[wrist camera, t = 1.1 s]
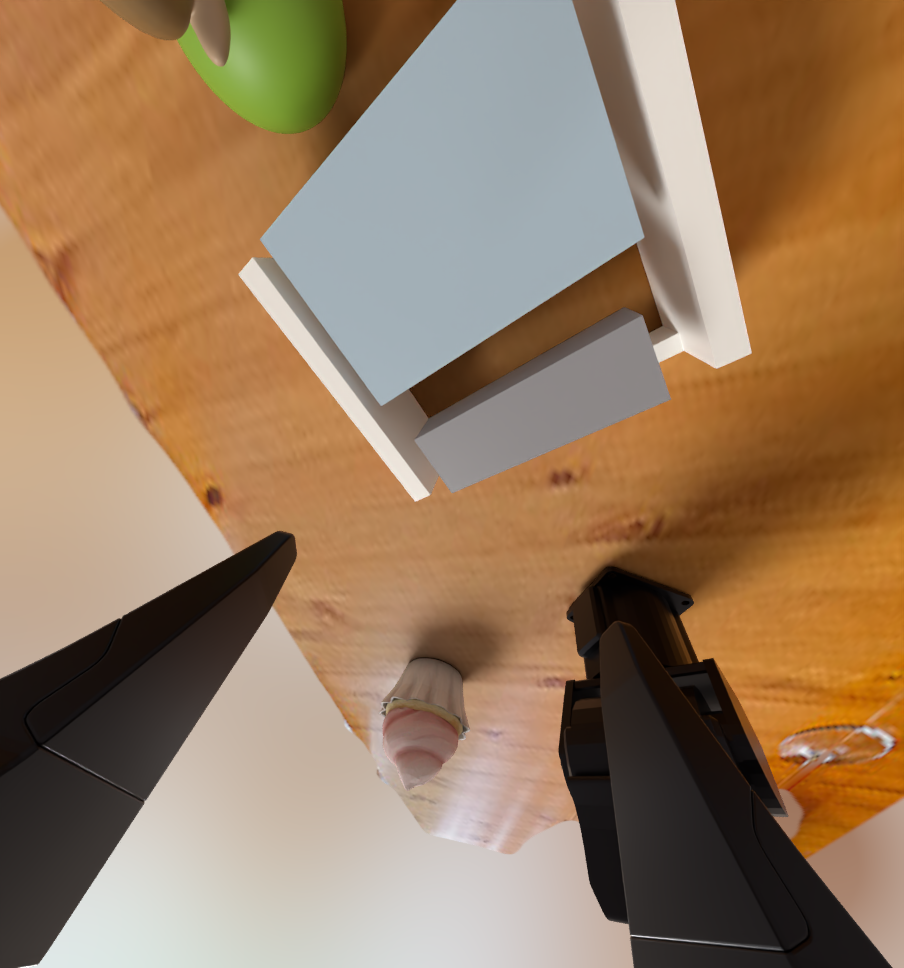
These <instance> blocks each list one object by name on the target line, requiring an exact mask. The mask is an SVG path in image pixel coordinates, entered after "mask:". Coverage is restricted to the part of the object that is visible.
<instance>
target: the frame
mask: <svg viewBox="0 0 904 968" xmlns="http://www.w3.org/2000/svg"><path fill="white" fill-rule="evenodd" d="M572 2H573V5H574V9H575V12H576V15H577V18H578V22H579V25H580V28H581V31H582V35H583V38H584V41H585V44H586V48H587V51H588V54H589V57H590V61H591V64H592V67H593V71H594V74H595V77H596V80H597V84H598V87H599V90H600V93H601V97H602V100H603V103H604V106H605V110H606V113H607V116H608V119H609V123H610V126H611V129H612V133H613V136H614V139H615V142H616V146H617V149H618V152H619V155H620V159H621V162H622V165H623V168H624V172H625V175H626V178H627V181H628V185H629V188H630V191H631V195H632V198H633V201H634V204H635V208H636V211H637V214H638V217H639V221H640V224H641V227H642V230H643V234H644V237H645V238H643V239H641V240H640V241H638V242H637V246H638V249H639V253H640V256H641V259H642V262H643V265H644V268H645V271H646V275H647V278H648V281H649V284H650V287H651V290H652V294H653V297H654V300H655V303H656V306H657V309H658V312H659V316H660V319H661V322H662V325H663V326H661V327H660V328H658V329H656V330H654V331H652V332H650V333H649V336H650V339H651V342H652V345H653V348H654V351H655V354H656V357H657V360H658V362H661V361H663V360H665V359H668V358H670V357H672V356H674V355H676V354H678V353H680V352H682V351H685V352H687V353H689V354H691V355H693V356H694V357H696V358H698V359H700V360H702V361H703V362H705V363H707V364H709V365H711V366H712V367H714V368H716V369H717V368H720V367H722V366H724V365H726V364H729V363H731V362H733V361H735V360H738V359H740V358H742V357H745V356H747V355H749V354H751V353H752V352H751V348H750V343H749V339H748V334H747V329H746V325H745V320H744V316H743V311H742V306H741V302H740V297H739V293H738V288H737V283H736V279H735V274H734V270H733V265H732V260H731V256H730V251H729V247H728V242H727V237H726V233H725V228H724V224H723V219H722V214H721V210H720V205H719V201H718V196H717V191H716V187H715V182H714V178H713V173H712V168H711V164H710V159H709V155H708V150H707V146H706V141H705V136H704V132H703V127H702V123H701V118H700V113H699V109H698V104H697V100H696V95H695V90H694V86H693V81H692V77H691V72H690V67H689V63H688V58H687V54H686V49H685V44H684V40H683V35H682V31H681V26H680V21H679V17H678V12H677V8H676V3H675V0H572ZM238 275H239V276H240V277H241V279H242V280H243V281H244V282H245V284H246V285H247V286H248V288H249V289H250V290H251V291H252V293H253V294H254V295H255V297H256V298H257V299H258V300H259V302H260V303H261V304H262V306H263V307H264V308H265V309H266V311H267V312H268V313H269V315H270V316H271V317H272V318H273V320H274V321H275V322H276V323H277V325H278V326H279V327H280V329H281V330H282V331H283V332H284V334H285V335H286V336H287V338H288V339H289V340H290V341H291V343H292V344H293V345H294V347H295V348H296V349H297V350H298V352H299V353H300V354H301V356H302V357H303V358H304V359H305V361H306V362H307V363H308V365H309V366H310V367H311V368H312V370H313V371H314V372H315V374H316V375H317V376H318V377H319V379H320V380H321V381H322V383H323V384H324V385H325V386H326V388H327V389H328V390H329V392H330V393H331V394H332V395H333V397H334V398H335V399H336V400H337V402H338V403H339V404H340V406H341V407H342V408H343V409H344V411H345V412H346V413H347V415H348V416H349V417H350V418H351V420H352V421H353V422H354V424H355V425H356V426H357V427H358V429H359V430H360V431H361V433H362V434H363V435H364V436H365V438H366V439H367V440H368V442H369V443H370V444H371V445H372V447H373V448H374V449H375V451H376V452H377V453H378V454H379V456H380V457H381V458H382V460H383V461H384V462H385V463H386V465H387V466H388V467H389V469H390V470H391V471H392V472H393V474H394V475H395V476H396V477H397V479H398V480H399V481H400V483H401V484H402V485H403V486H404V488H405V489H406V490H407V492H408V493H409V494H410V495H411V497H412V498H413V499H414V501H415V502H416V501H418V500H420V499H423V498H425V497H427V496H429V495H431V493H432V490H433V488H434V486H435V484H436V481H437V479H438V477H439V474H438V473H437V472H436V470H435V469H434V467H433V466H432V465H431V463H430V462H429V460H428V459H427V458H426V456H425V455H424V453H423V452H422V451H421V449H420V448H419V446H418V445H417V444H416V442H415V441H414V439H415V438H416V436H417V435H418V434H419V432H420V431H421V429H422V428H423V426H424V425H425V423H426V422H427V420H428V419H429V418H428V417H427V415H426V414H425V412H424V411H423V410H422V408H421V407H420V405H419V404H418V402H417V401H416V399H415V398H414V396H413V395H412V393H411V392H410V390H409V389H408V390H406V391H404V392H403V393H401V394H400V395H398V396H397V397H395V398H393V399H392V400H390V401H389V402H387V403H386V404H384V405H383V406H381V405H380V404H379V403H378V401H377V400H376V399H375V397H374V396H373V394H372V393H371V392H370V390H369V389H368V388H367V386H366V385H365V383H364V382H363V381H362V379H361V378H360V377H359V375H358V374H357V372H356V371H355V370H354V368H353V367H352V366H351V364H350V363H349V361H348V360H347V359H346V357H345V356H344V355H343V353H342V352H341V350H340V349H339V348H338V346H337V345H336V344H335V342H334V341H333V339H332V338H331V337H330V335H329V334H328V332H327V331H326V330H325V328H324V327H323V326H322V324H321V323H320V321H319V320H318V319H317V317H316V316H315V315H314V313H313V312H312V310H311V309H310V308H309V306H308V305H307V304H306V302H305V301H304V299H303V298H302V297H301V295H300V294H299V293H298V291H297V290H296V288H295V287H294V286H293V284H292V283H291V282H290V280H289V279H288V277H287V276H286V275H285V273H284V272H283V271H282V269H281V268H280V266H279V265H278V264H277V262H276V261H275V259H274V258H256V257H252V259H251V260H250V261H249V262H248V263H247V265H246V266H245V267H244V268H243V269H242V271H241V272H240V273H239V274H238Z"/></svg>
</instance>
